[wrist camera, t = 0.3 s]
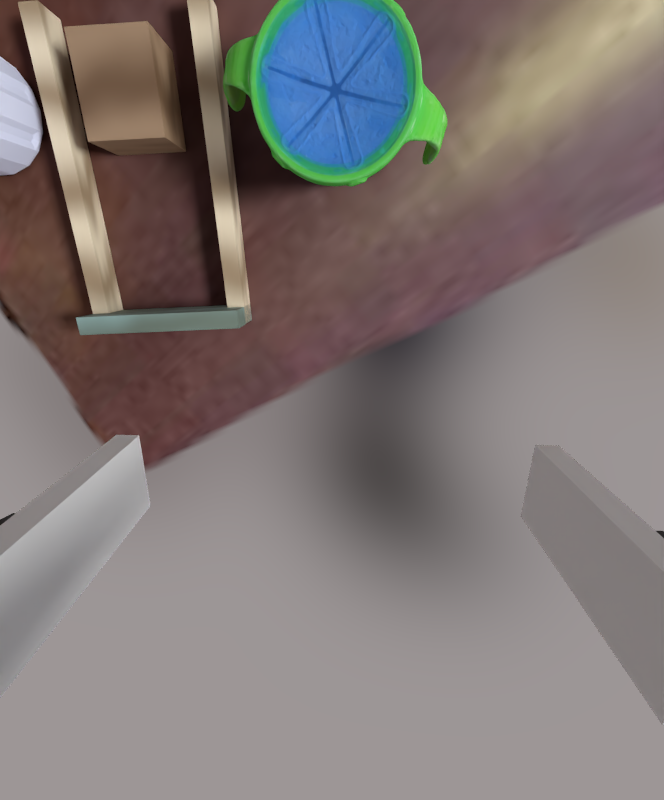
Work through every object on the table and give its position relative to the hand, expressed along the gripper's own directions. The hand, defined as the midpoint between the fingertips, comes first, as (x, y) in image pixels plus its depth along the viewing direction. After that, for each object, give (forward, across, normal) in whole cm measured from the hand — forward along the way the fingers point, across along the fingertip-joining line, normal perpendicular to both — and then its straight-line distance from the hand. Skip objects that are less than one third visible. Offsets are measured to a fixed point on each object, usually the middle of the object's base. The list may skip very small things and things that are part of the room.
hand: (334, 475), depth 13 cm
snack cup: (+28, -1, +17) cm, 32 cm away
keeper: (+28, -17, +19) cm, 37 cm away
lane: (+27, -16, +13) cm, 34 cm away
